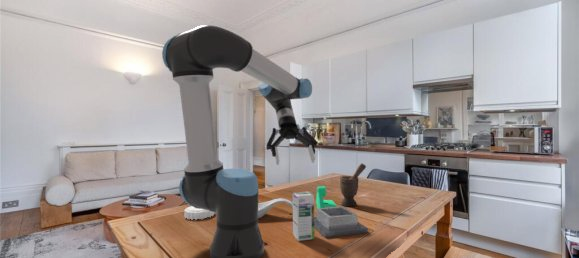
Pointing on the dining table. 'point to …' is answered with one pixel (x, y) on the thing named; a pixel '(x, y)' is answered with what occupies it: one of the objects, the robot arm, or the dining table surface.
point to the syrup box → (303, 215)
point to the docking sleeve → (337, 222)
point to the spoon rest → (271, 205)
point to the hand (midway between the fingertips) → (296, 161)
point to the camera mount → (319, 198)
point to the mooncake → (197, 213)
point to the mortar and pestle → (350, 187)
